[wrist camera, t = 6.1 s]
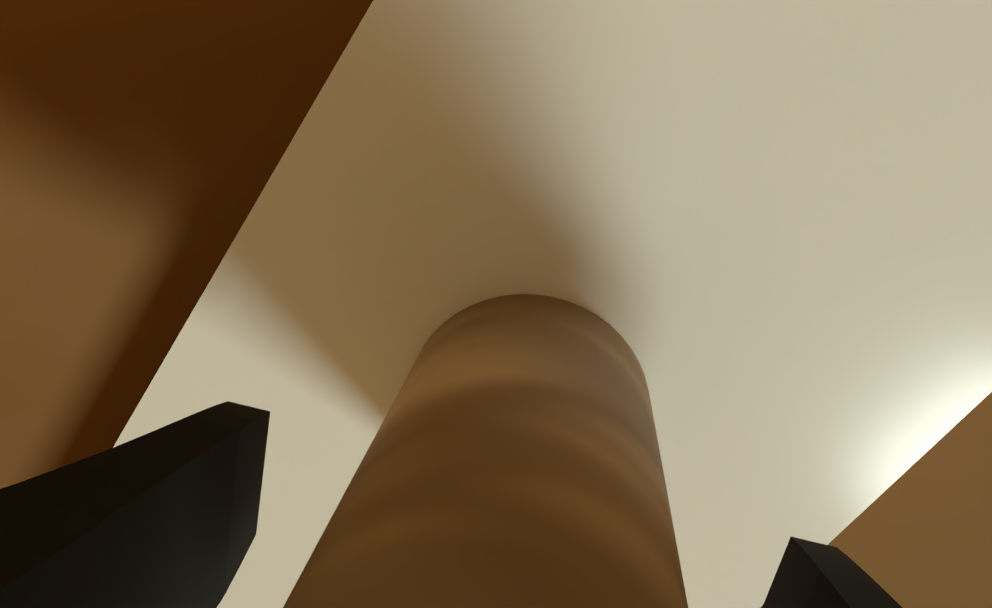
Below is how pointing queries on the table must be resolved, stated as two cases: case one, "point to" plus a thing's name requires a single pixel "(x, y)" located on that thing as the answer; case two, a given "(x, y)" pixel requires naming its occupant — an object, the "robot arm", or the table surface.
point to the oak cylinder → (507, 476)
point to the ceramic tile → (626, 250)
